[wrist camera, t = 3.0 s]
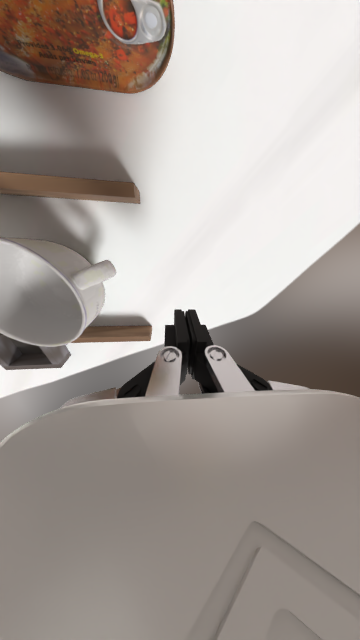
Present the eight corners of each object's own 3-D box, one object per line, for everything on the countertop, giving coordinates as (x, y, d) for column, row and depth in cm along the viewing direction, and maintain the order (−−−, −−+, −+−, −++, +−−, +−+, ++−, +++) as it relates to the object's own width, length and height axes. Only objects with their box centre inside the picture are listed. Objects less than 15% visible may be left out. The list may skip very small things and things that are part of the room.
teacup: (59, 317, 22) (12, 354, 15) (1, 242, 16) (-119, 248, 9) (142, 303, 22) (131, 335, 15) (115, 223, 16) (78, 216, 9)
